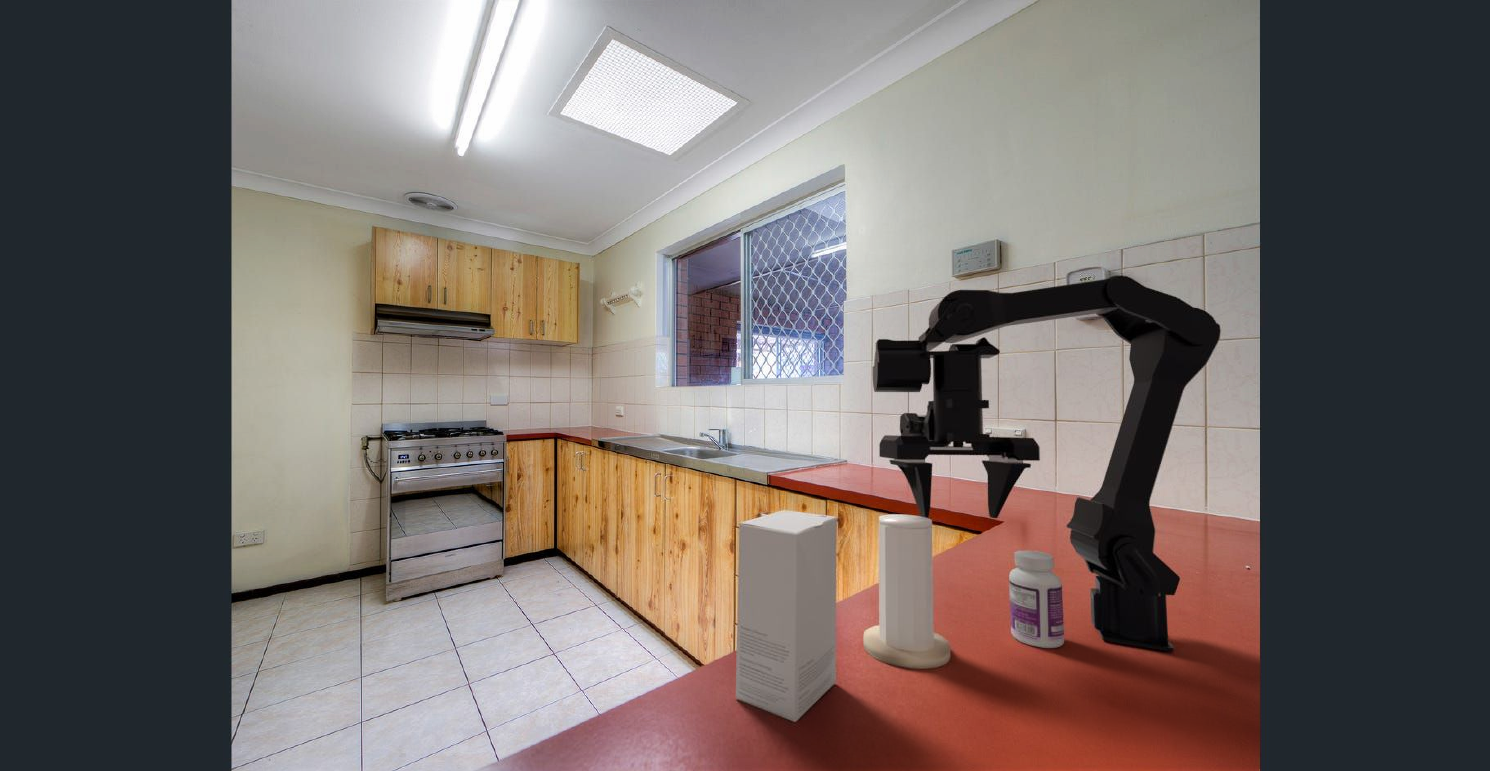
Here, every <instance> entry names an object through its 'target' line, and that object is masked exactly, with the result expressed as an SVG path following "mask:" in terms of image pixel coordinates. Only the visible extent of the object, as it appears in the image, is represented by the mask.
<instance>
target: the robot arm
mask: <svg viewBox="0 0 1490 771" xmlns="http://www.w3.org/2000/svg"><path fill="white" fill-rule="evenodd" d="M1094 314H1096V315H1097V316H1099V317H1100V318H1101V319H1103V320H1104V321H1105V323H1106V324H1107V325H1108V326H1109V327H1110V328H1111V330H1112V331H1113V332H1114V334H1115V336H1117V337H1119V338H1121V339H1122V340H1124V341H1125V342H1127V343H1128V344H1130V350H1129V358H1128V359H1129V363H1130V364H1129V365H1130V368H1131V371H1132V375H1133V384H1132V388H1131V391H1130V394H1129V397H1128V401H1127V404H1126V407H1125V409H1124V413H1123V417H1122V419H1121V423H1120V426H1119V430H1118V432H1117V436H1116V440H1115V441H1114V446H1113V448H1112V452H1111V455H1110V459H1109V462H1108V465H1107V467H1106V472H1105V474H1104V478H1103V480H1102V485H1101V487H1100V489H1099V490H1098V492H1096V494H1094V495H1093V496H1092V497H1091V499H1087V498H1083V497H1076V500H1075V502H1074V509H1073V515H1072V517H1071V519H1070V521H1069V522H1068V523H1067V524H1066V528H1068V529H1069V530H1070V535H1069V540H1070V544H1071V545H1072V547H1073V549H1074V551H1075V553H1077V555H1079V557H1080V558H1082V559H1084V562H1085V564H1086V566H1087V569H1088V571H1089V572H1090V573H1092V574H1095V580H1094V581H1095V588H1094V587H1092V588H1090V590H1089V592H1090V594H1089V595H1090V596H1089V597H1090V618H1091V620H1090V621H1091V623H1092V626H1093V627H1094V629H1095V630H1097V632H1098V633H1099V635H1100V638H1101V639H1102V640H1103V641H1106V642H1110V643H1116V644H1123V645H1127V646H1128V645H1129V646H1134V647H1139V648H1147V649H1153V650H1159V651H1165V652H1172V653H1173V652H1174V650H1175V648H1174V646H1173V644H1172V643H1171V642H1170V641H1169V634H1168V633H1169V628H1168V610H1167V596H1175V595H1176V592H1177V589H1178V586H1179V584H1180V581H1181V578H1180V576H1179V574H1177V573H1176V572H1175V571H1174V570H1173V569H1172V568H1171V567H1169V565H1167V564H1166V563H1165V561H1163V560H1162V559H1161V558H1160V557H1159V556H1157V555H1156V554H1155V553H1154V549H1155V541H1156V540H1155V538H1156V526H1155V523H1154V520H1153V515H1152V511H1151V506H1150V504H1151V497H1152V494H1153V491H1154V489H1155V485H1156V481H1157V478H1158V474H1159V472H1160V468H1161V465H1162V462H1163V458H1164V454H1165V452H1166V448H1167V445H1168V442H1169V438H1170V436H1171V432H1172V429H1173V426H1174V423H1175V419H1176V416H1177V413H1178V409H1179V407H1180V403H1181V401H1182V397H1183V393H1184V391H1185V389H1186V387H1187V385H1188V384H1189V383H1190V382H1191V381H1192V380H1193V379H1194V377H1196V376H1197V375H1198V373H1199V372H1200V371H1202V369H1203V368H1204V367H1205V366H1206V365H1207V363H1208V362H1209V360H1210V358H1211V357H1212V354H1213V352H1214V351H1215V349H1216V347H1217V345H1218V343H1219V341H1220V338H1221V331H1222V330H1221V325H1220V324H1219V323H1218V322H1217V321H1216V320H1215V318H1214V316H1213V315H1211V313H1209V312H1208V311H1207V310H1204V309H1202V308H1199V307H1193V306H1192V305H1191V304H1189V303H1188V302H1186V301H1184V300H1182V299H1181V298H1180V297H1177V296H1175V295H1174V296H1173V295H1171V294H1168V293H1165V292H1162V291H1159V290H1157V289H1154V288H1150V287H1147V286H1144V285H1143V284H1141V283H1140V282H1139V281H1136V280H1135V279H1133V278H1132V277H1130V276H1127V275H1113V276H1110V277H1109V278H1105V279H1104V278H1103V279H1098V280H1091V281H1089V280H1088V281H1084V282H1077V283H1069V284H1064V285H1057V286H1051V287H1043V288H1036V289H1029V290H1024V291H1023V290H1022V291H1017V292H999V291H993V290H988V289H956V290H953V291H952V292H949V293H947V295H945V296H944V297H943V298H942V299H941V300H940V301H939V302H938V303H937V304H936V305H935V306H934V308H933V309H931V311H930V313H929V317H928V327H927V329H926V330H925V331H924V332H923V333H922V334H920V336H918V340H917V339H915V340H893V339H889V338H879V339H877V340H876V342H875V351H874V352H875V353H874V359H873V360H874V362H873V366H872V386H873V392H875V393H920V392H921V391H922V388H923V387H922V386H923V385H929V384H930V383H931V382H930V381H931V378H932V383H933V384H932V385H933V386H932V387H933V388H932V390H933V391H932V392H933V400H929V401H927V402H928V403H927V407H926V408H927V411H926V415H922V416H921V415H920V416H919V415H918V413H916V412H904V413H902V414H901V415H900V416H899V431H900V435H892V434H891V435H886V434H885V435H883V436H882V438H881V440H880V442H879V454H878V456H879V458H884V459H885V458H886V459H889V463H890V465H894V466H897V467H898V469H900V471H901V473H903V475H904V477H905V478H906V481H907V482H908V485H909V487H910V489H911V490H910V491H911V493H912V495H913V499H914V501H915V504H916V506H917V509H918V512H919V516H921V517H926V518H929V519H930V517H929V516H930V511H931V498H932V483H933V482H932V480H933V478H932V477H933V462H926V459H927V457H928V456H987V457H988V460H986V459H985V460H981V463H982V465H983V467H984V470H985V472H986V473H987V509H988V515H989V517H990V518H991V519H998V518H999V516H1000V514H1001V511H1002V509H1003V508H1004V505H1005V503H1006V502H1007V499H1008V497H1009V495H1010V494H1011V491H1012V490H1013V488H1014V487H1015V485H1016V483H1017V482H1018V480H1019V479H1020V477H1021V476H1022V474H1023V472H1024V470H1026V469H1031V467H1032V464H1031V463H1028V462H1024V461H1029V462H1031V461H1033V462H1035V461H1036V462H1037V461H1040V460H1041V451H1040V450H1041V447H1040V444H1038V443H1037V441H1036V440H1035V438H1034V437H1015V436H1014V437H1013V436H990V435H991V434H990V433H984V424H983V423H984V422H983V421H984V420H983V418H984V417H983V416H984V415H983V413H984V412H983V409H990V400H989V399H983V381H982V380H983V379H982V378H983V376H982V373H983V372H982V359H991V358H993V357H995V356H997V355H1000V353H1001V351H1000V349H999V348H997V347H996V346H995V345H993V344H992V343H990V342H989V341H988V338H986V337H981V338H980V339H978V340H977V341H976V342H974V343H958V342H962V341H965V340H968V339H972V338H975V337H978V336H981V335H984V334H986V333H990V332H992V331H995V330H999V329H1002V328H1005V327H1009V326H1015V325H1016V326H1018V325H1024V324H1032V323H1039V322H1047V321H1052V320H1058V319H1061V320H1062V319H1067V318H1074V317H1080V316H1089V315H1094ZM943 343H945V344H951V345H950V346H949V349H948V350H939V351H938V350H935V351H934V349H935V348H937V347H938V346H940V345H942V344H943ZM931 360H932V361H931ZM931 362H932V363H931ZM931 376H932V377H931ZM964 443H965V444H970V446H964ZM951 444H952V445H951Z"/></svg>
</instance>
